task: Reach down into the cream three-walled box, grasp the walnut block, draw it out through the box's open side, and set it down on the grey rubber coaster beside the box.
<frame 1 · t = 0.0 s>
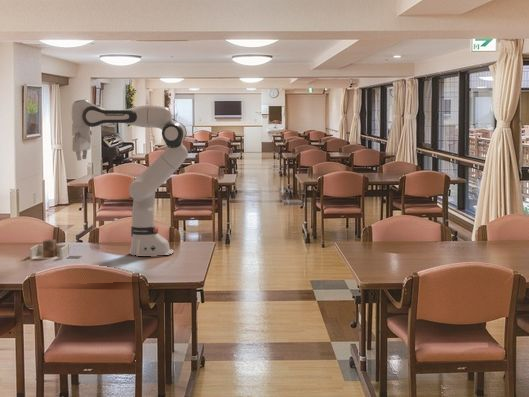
hand: (81, 159, 372), 48 cm above the table, fingers open, 8 cm apart
block: (50, 256, 365), resting on box
box: (49, 257, 365), on the table
coaster: (74, 258, 364), on the table
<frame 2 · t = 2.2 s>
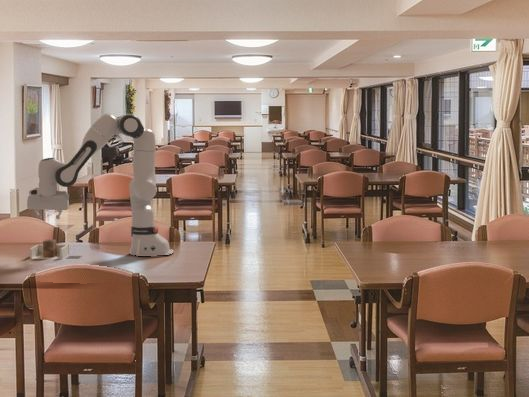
hand: (48, 218, 363), 19 cm above the table, fingers open, 8 cm apart
nothing on the table moved.
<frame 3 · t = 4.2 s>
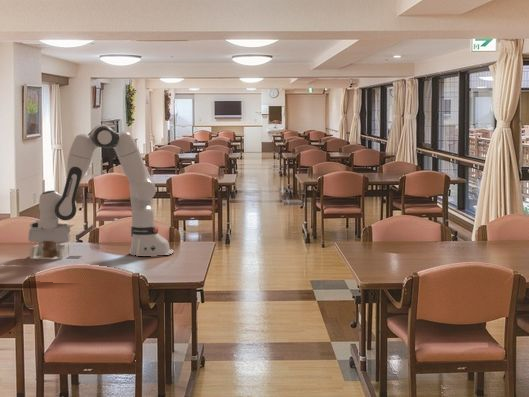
hand: (50, 250, 365), 3 cm above the table, fingers closed on block, 5 cm apart
block: (50, 256, 365), resting on box, touching gripper
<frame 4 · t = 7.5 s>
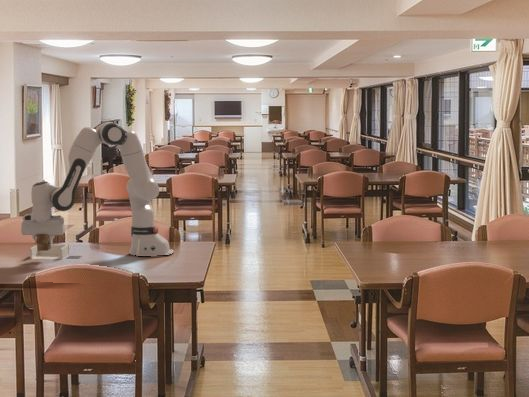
hand: (43, 243, 354), 9 cm above the table, fingers closed on block, 5 cm apart
block: (44, 249, 355), point 6 cm above the table, touching gripper
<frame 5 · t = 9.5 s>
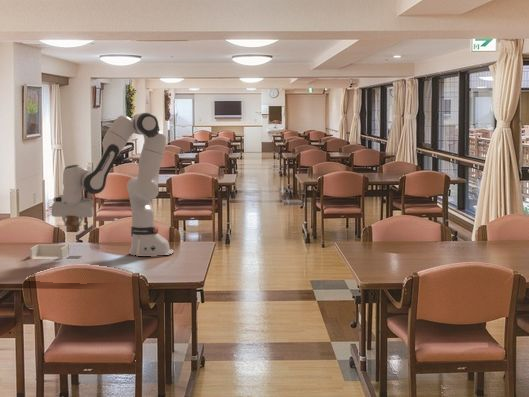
hand: (72, 226, 361), 16 cm above the table, fingers closed on block, 5 cm apart
block: (73, 231, 362), point 14 cm above the table, touching gripper
when the fingers open (4 cm above the table, at t = 11.1 s): block drops 1 cm, resting on coaster.
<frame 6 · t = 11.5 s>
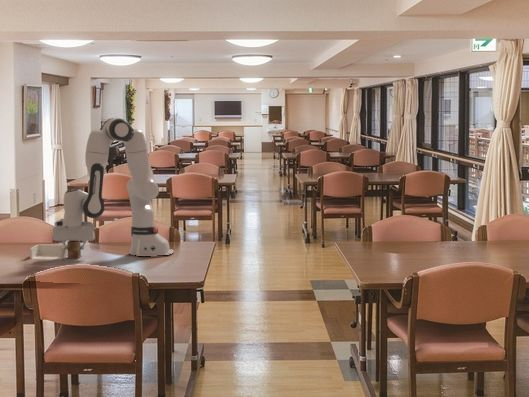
hand: (74, 249, 363), 4 cm above the table, fingers open, 6 cm apart
block: (74, 257, 363), point 1 cm above the table, touching coaster
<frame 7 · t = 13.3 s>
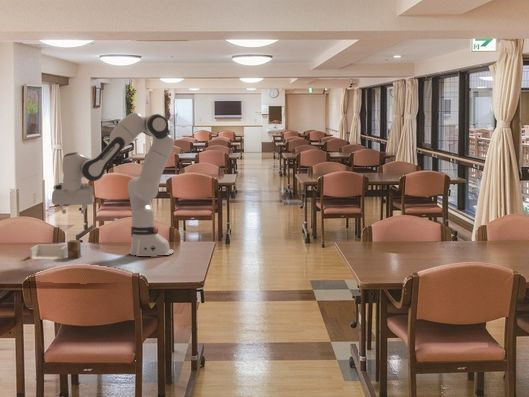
hand: (73, 213, 363), 22 cm above the table, fingers open, 8 cm apart
nothing on the table moved.
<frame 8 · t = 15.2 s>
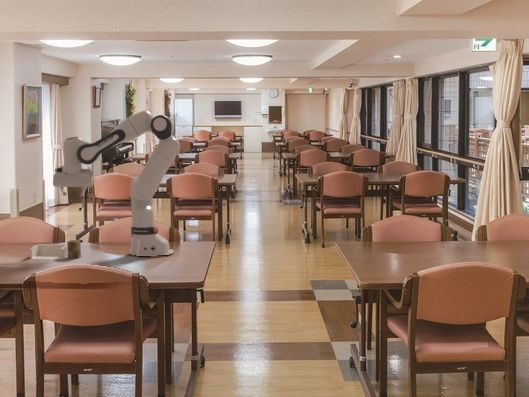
hand: (73, 195, 377), 29 cm above the table, fingers open, 8 cm apart
nothing on the table moved.
at the end: block inside the target area on the coaster (0.1 cm from its centre), point 0.6 cm above the coaster's base; block tilted 0°; the gripper is holding nothing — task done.
